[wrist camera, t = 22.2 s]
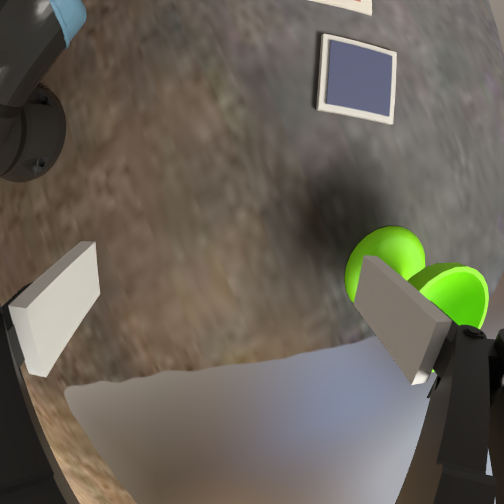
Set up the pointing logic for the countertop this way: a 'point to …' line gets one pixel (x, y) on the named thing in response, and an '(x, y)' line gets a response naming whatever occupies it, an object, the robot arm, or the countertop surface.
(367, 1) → the print card
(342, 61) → the ink pad
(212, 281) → the countertop surface
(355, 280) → the wineglass
